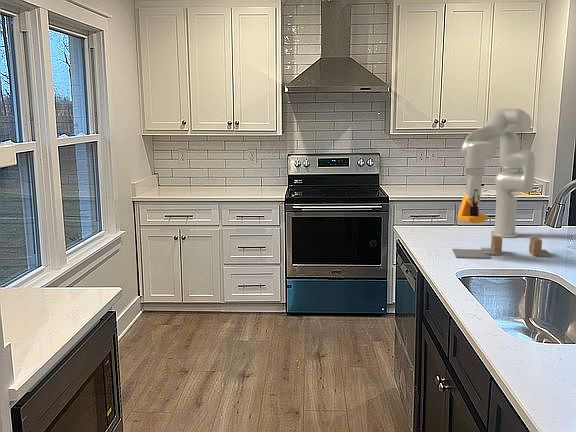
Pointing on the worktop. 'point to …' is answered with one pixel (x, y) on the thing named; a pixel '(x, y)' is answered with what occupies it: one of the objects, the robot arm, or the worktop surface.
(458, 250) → the mat
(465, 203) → the bracket
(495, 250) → the vise jaws
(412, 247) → the worktop surface
